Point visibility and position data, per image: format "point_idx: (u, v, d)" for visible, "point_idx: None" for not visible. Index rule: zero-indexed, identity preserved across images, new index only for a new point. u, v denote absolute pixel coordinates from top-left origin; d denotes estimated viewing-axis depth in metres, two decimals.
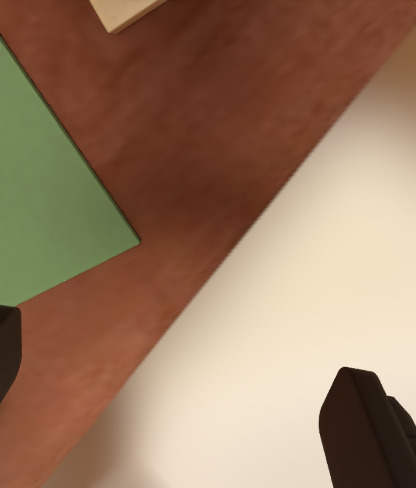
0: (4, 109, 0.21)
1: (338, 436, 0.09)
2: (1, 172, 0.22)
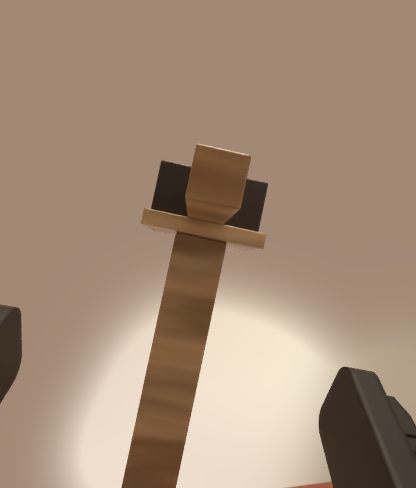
0: None
1: (338, 436, 0.09)
2: None
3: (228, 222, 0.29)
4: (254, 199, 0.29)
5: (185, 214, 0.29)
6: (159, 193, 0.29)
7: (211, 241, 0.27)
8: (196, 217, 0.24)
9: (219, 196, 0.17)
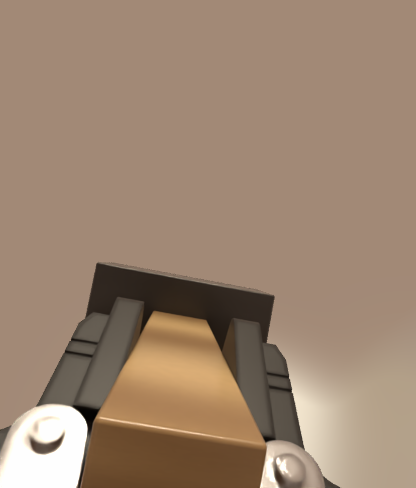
0: None
1: None
2: None
3: None
4: None
5: None
6: None
7: None
8: None
9: None
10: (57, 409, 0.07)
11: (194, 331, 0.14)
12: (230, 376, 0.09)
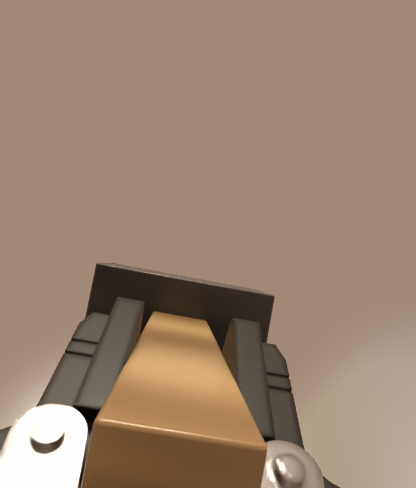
0: None
1: None
2: None
3: None
4: None
5: None
6: None
7: None
8: None
9: None
10: (58, 409, 0.07)
11: (194, 331, 0.14)
12: (230, 377, 0.09)
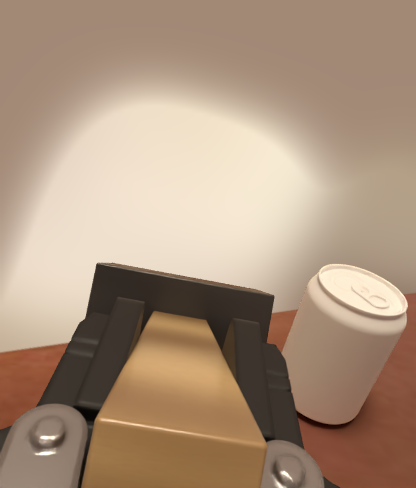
0: None
1: None
2: None
3: None
4: None
5: None
6: None
7: None
8: None
9: None
10: (57, 409, 0.07)
11: (194, 331, 0.14)
12: (230, 376, 0.09)
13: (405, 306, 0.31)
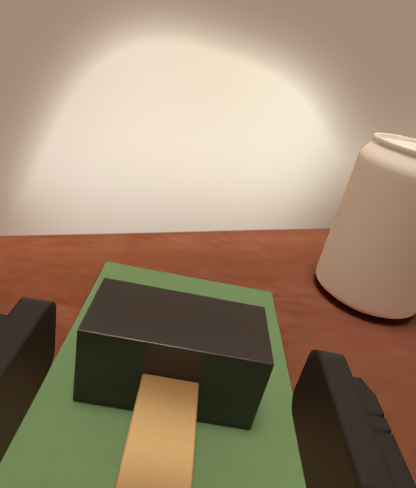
0: None
1: (307, 416, 0.10)
2: None
3: (202, 415, 0.17)
4: (247, 387, 0.16)
5: (130, 404, 0.17)
6: (82, 377, 0.17)
7: None
8: None
9: None
10: None
11: (172, 462, 0.13)
12: None
13: None
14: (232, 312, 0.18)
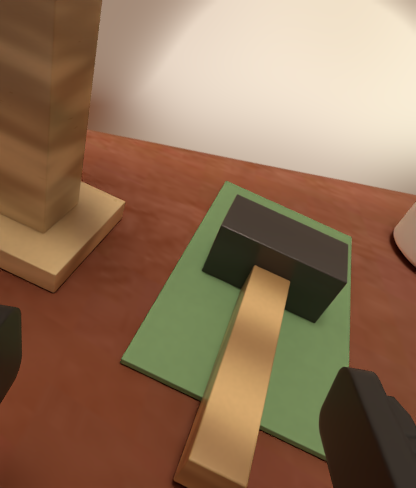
0: None
1: (338, 436, 0.09)
2: None
3: (285, 304, 0.25)
4: (323, 293, 0.24)
5: (239, 283, 0.25)
6: (213, 257, 0.24)
7: None
8: None
9: None
10: None
11: (269, 319, 0.21)
12: (261, 409, 0.17)
13: None
14: (324, 241, 0.25)
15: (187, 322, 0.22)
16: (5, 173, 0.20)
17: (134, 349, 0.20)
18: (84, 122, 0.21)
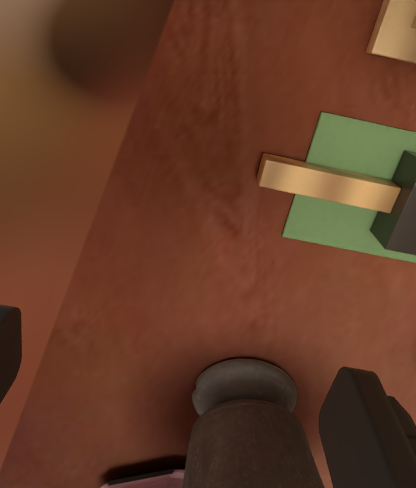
0: None
1: (338, 436, 0.09)
2: None
3: (380, 211, 0.37)
4: (382, 234, 0.36)
5: (394, 178, 0.35)
6: (409, 158, 0.33)
7: None
8: None
9: (259, 168, 0.35)
10: None
11: (353, 198, 0.34)
12: (294, 192, 0.34)
13: None
14: None
15: (355, 146, 0.35)
16: None
17: (329, 118, 0.34)
18: None
